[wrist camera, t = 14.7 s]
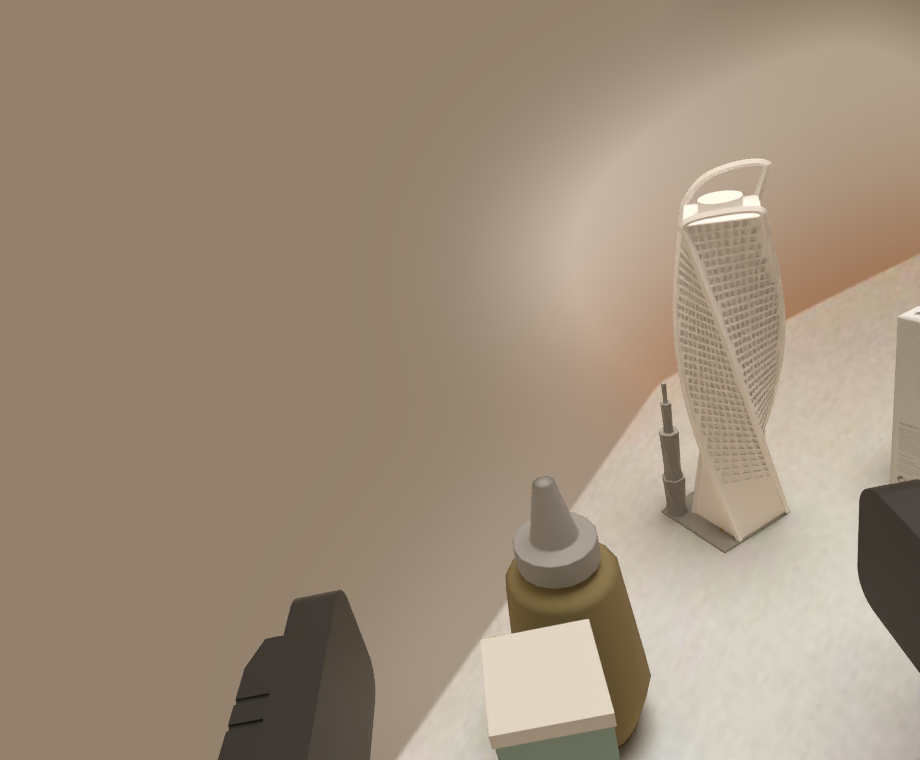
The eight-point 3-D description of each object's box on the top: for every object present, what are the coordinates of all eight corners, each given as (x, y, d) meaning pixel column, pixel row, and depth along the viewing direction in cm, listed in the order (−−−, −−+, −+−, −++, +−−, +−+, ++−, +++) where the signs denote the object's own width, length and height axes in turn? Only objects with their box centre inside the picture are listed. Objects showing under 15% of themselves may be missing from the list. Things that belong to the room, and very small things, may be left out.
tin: (617, 770, 39) (588, 618, 34) (643, 872, 34) (614, 713, 29) (522, 788, 39) (480, 639, 34) (535, 891, 35) (488, 736, 30)
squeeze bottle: (503, 742, 45) (437, 513, 38) (563, 647, 51) (516, 431, 43) (625, 798, 41) (578, 550, 33) (676, 687, 46) (646, 452, 38)
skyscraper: (734, 471, 64) (714, 152, 52) (814, 513, 58) (812, 157, 45) (661, 514, 61) (622, 186, 49) (736, 563, 55) (712, 198, 42)
